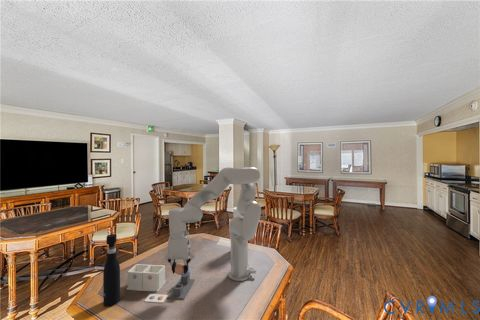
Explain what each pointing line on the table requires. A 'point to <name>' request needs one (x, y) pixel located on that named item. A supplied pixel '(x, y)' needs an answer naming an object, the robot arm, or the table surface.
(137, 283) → the two-slot cubby shelf
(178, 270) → the terracotta ball
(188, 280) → the ball stand
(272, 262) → the table surface
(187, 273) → the slate ball
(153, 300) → the card
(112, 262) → the wine bottle
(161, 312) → the table surface
